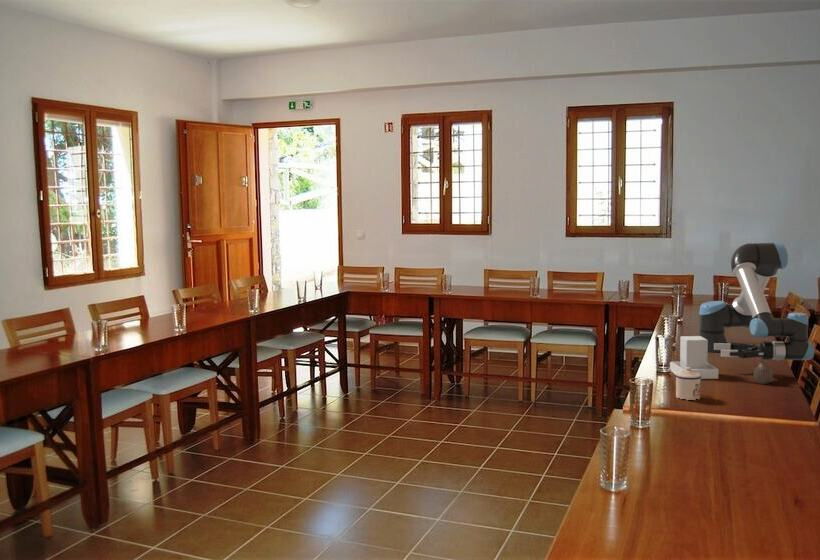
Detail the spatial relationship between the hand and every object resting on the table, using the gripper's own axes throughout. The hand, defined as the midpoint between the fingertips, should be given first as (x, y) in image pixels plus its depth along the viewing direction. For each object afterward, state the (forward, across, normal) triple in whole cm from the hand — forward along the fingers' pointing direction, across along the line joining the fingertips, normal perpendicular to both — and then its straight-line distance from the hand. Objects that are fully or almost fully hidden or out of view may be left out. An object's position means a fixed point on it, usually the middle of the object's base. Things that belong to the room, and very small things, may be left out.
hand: (717, 349), depth 312 cm
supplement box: (+9, +1, -10) cm, 14 cm away
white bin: (+9, 0, -11) cm, 14 cm away
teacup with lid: (+17, -36, -11) cm, 41 cm away
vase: (-15, -12, -11) cm, 22 cm away
